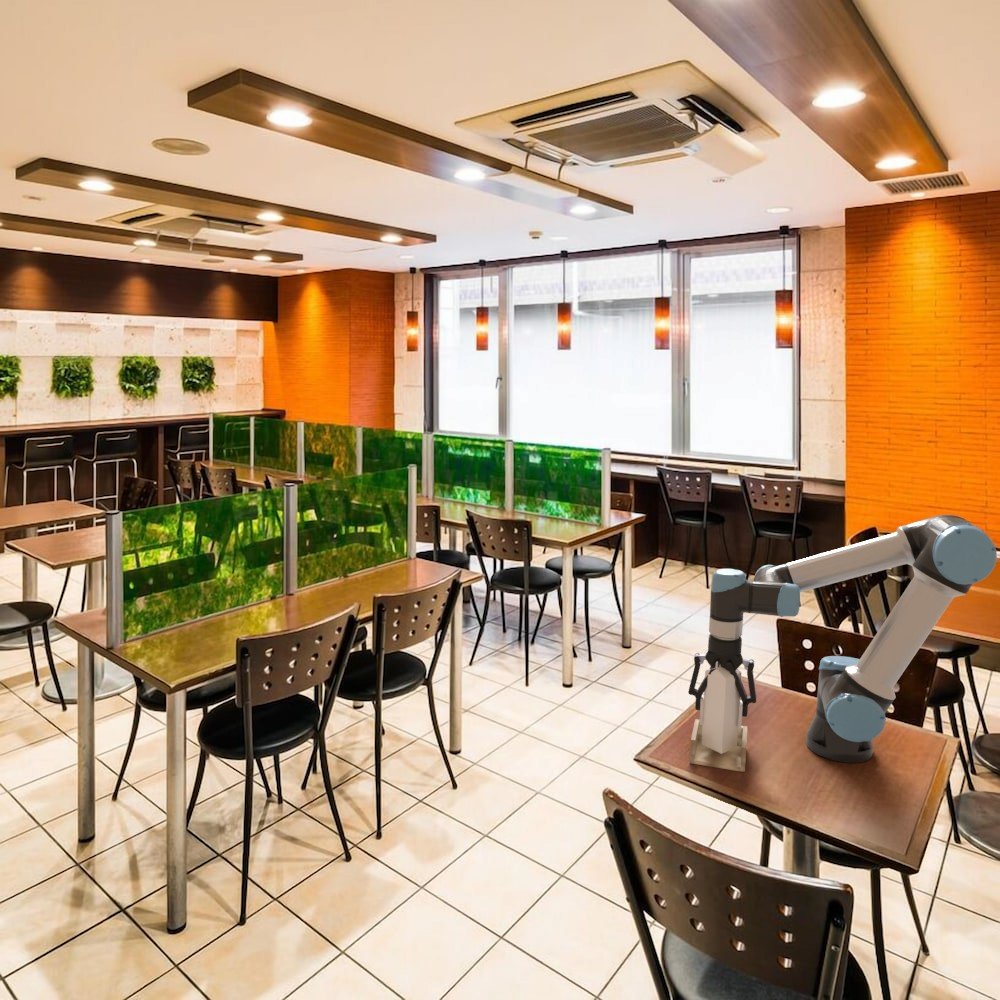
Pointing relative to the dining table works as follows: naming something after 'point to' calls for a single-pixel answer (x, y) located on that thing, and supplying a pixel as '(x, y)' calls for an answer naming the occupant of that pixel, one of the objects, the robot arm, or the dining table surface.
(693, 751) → the u rest
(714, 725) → the milk
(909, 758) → the dining table surface
